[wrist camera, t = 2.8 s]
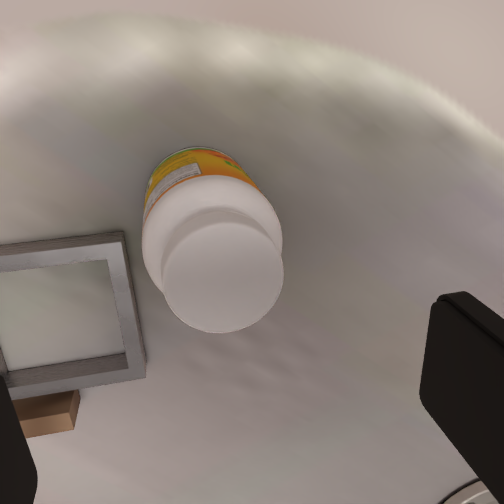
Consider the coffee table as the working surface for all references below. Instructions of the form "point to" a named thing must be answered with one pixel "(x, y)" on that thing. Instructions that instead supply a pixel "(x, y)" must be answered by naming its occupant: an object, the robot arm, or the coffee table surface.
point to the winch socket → (134, 358)
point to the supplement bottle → (211, 241)
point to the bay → (47, 413)
